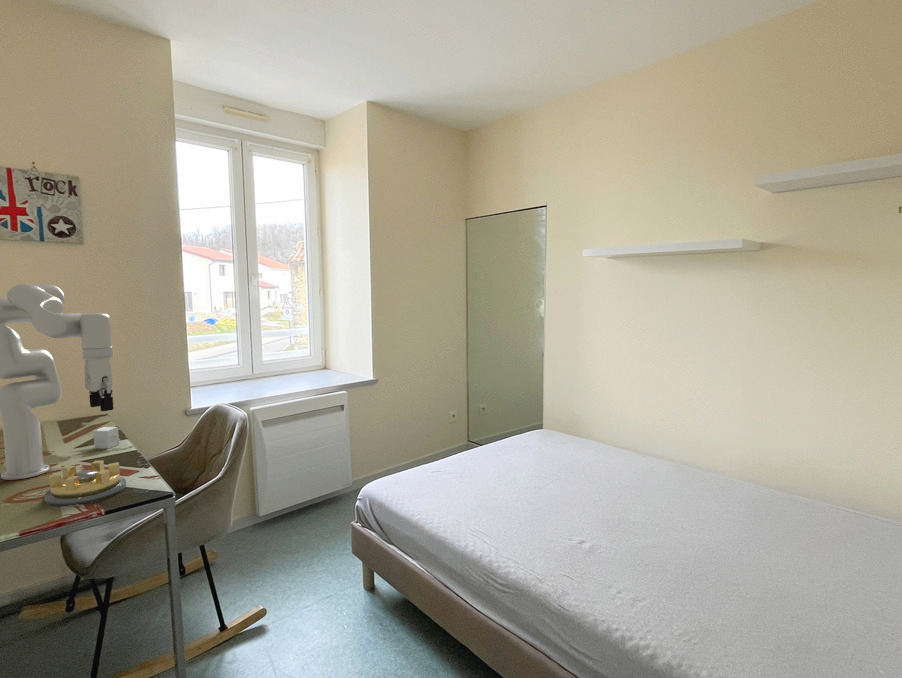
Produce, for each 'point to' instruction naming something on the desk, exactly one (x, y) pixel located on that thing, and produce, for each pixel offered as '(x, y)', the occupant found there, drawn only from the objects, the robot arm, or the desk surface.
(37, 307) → the robot arm
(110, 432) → the skincare box
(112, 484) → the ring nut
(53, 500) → the base plate
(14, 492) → the desk surface
